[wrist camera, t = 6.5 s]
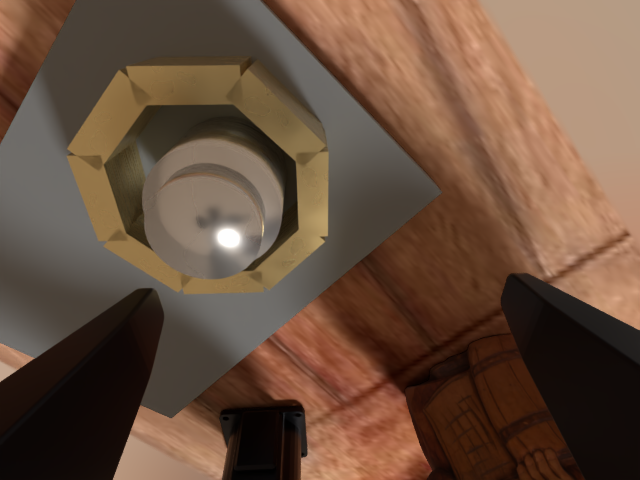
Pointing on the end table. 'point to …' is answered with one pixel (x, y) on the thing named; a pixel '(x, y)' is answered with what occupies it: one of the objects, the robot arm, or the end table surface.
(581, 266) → the end table surface
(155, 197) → the silver calibration weight
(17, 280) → the mat
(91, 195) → the brass ring
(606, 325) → the robot arm
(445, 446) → the wooden figurine
